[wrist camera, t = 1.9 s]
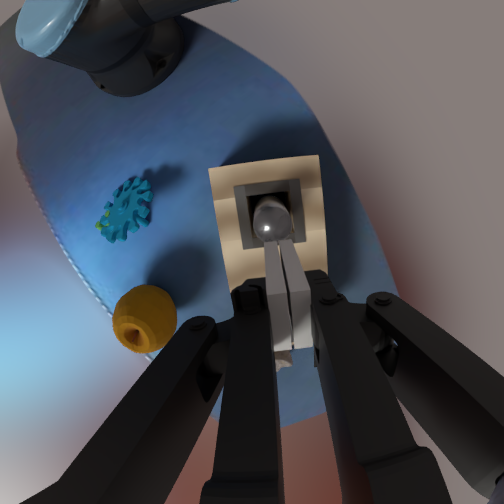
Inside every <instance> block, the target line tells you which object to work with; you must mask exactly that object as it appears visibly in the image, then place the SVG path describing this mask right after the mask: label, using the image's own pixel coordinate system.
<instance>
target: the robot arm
mask: <svg viewBox="0 0 504 504" xmlns="http://www.w3.org/2000/svg"><path fill="white" fill-rule="evenodd" d="M236 1H238V0H26V1H25V3H24V5H23V7H22V9H21V11H20V14H19V17H18V20H17V25H16V39H17V42H18V44H19V45H20V46H21V47H22V48H23V49H25V50H28V51H30V52H33V53H35V54H36V55H37V56H39V57H43V58H47V59H50V60H53V61H57V62H60V63H63V64H66V65H69V66H72V67H75V68H78V69H81V70H84V71H86V72H87V73H88V75H89V76H90V77H91V79H92V80H93V82H94V83H95V84H96V85H97V87H99V88H100V89H101V90H103V91H104V92H106V93H109V94H112V95H115V96H119V97H131V96H136V95H140V94H143V93H145V92H147V91H149V90H151V89H153V88H154V87H156V86H157V85H159V84H160V83H161V82H163V81H164V80H165V79H166V78H167V77H168V76H169V75H170V74H171V73H172V71H173V70H174V69H175V67H176V66H177V64H178V62H179V60H180V58H181V55H182V52H183V48H184V36H183V33H182V30H181V28H180V27H179V25H178V24H177V22H176V21H175V20H174V19H173V18H172V17H175V16H178V15H181V14H184V13H187V12H191V11H194V10H198V9H201V8H205V7H209V6H213V5H217V4H221V3H225V2H236ZM279 247H280V255H279V250H278V245H277V241H272V242H264V254H265V275H266V277H260V278H251V279H246V280H245V281H244V282H243V284H242V285H240V286H237V287H236V288H234V289H233V290H232V291H231V299H232V304H233V309H234V317H232V318H231V319H229V320H226V321H223V322H220V323H215V320H214V319H213V318H212V317H209V316H196V317H192V318H191V319H189V320H187V321H185V322H184V323H183V324H182V325H181V327H180V328H179V329H178V330H177V332H176V333H175V334H174V335H173V336H172V338H171V339H170V340H169V341H168V343H167V344H166V345H165V346H164V348H163V349H162V350H161V351H160V353H159V354H158V355H157V356H156V358H155V359H154V360H153V361H152V363H151V364H150V365H149V366H148V367H147V369H146V370H145V371H144V373H143V374H142V375H141V376H140V377H139V379H138V380H137V381H136V382H135V384H134V385H133V386H132V387H131V389H130V390H129V391H128V392H127V394H126V395H125V396H124V397H123V399H122V400H121V401H120V403H119V404H118V405H117V407H116V408H115V409H114V410H113V411H112V413H111V414H110V415H109V416H108V418H107V419H106V420H105V421H104V423H103V424H102V425H101V427H100V428H99V429H98V430H97V432H96V433H95V434H94V436H93V437H92V438H91V439H90V441H89V442H88V443H87V444H86V445H85V447H84V448H83V449H82V451H81V452H80V453H79V454H78V456H77V457H76V458H75V460H74V461H73V462H72V463H71V465H70V466H69V467H68V469H67V470H66V471H65V472H64V474H63V475H62V476H61V478H60V479H59V480H58V481H57V482H55V483H54V484H52V485H51V486H49V487H47V488H46V489H44V490H42V491H41V492H39V493H37V494H35V495H34V496H32V497H30V498H29V499H27V500H25V501H23V502H21V503H19V504H164V503H165V501H166V499H167V497H168V495H169V493H170V492H171V490H172V488H173V486H174V484H175V482H176V480H177V478H178V476H179V475H180V473H181V471H182V469H183V467H184V465H185V463H186V461H187V459H188V457H189V455H190V453H191V451H192V449H193V447H194V445H195V443H196V441H197V439H198V437H199V435H200V433H201V431H202V429H203V427H204V425H205V423H206V421H207V419H208V417H209V415H210V413H211V411H212V409H213V407H214V405H215V403H216V401H217V399H218V397H219V395H220V392H221V390H222V388H223V386H224V389H223V396H222V404H221V411H220V419H219V427H218V434H217V442H216V450H215V458H214V466H213V473H212V477H211V479H210V480H208V481H206V482H205V484H204V486H203V488H202V492H201V496H200V503H199V504H285V496H284V478H283V462H282V448H281V447H282V446H281V432H280V416H279V402H278V389H277V376H276V363H275V354H274V351H283V350H291V349H292V344H291V332H290V323H291V329H292V335H293V341H294V347H295V349H299V348H306V347H313V342H314V367H317V369H318V373H319V378H320V382H321V387H322V392H323V396H324V401H325V406H326V411H327V415H328V420H329V425H330V430H331V436H332V441H333V446H334V451H335V456H336V463H337V468H338V474H339V480H340V486H341V492H342V504H452V501H451V498H450V495H449V492H448V489H447V486H446V484H445V481H444V479H443V476H442V473H441V471H440V468H439V466H438V463H437V461H436V458H435V456H434V454H433V453H432V451H431V450H430V449H429V448H427V447H420V446H418V445H417V444H416V442H415V440H414V438H413V435H412V433H411V431H410V428H409V426H408V424H407V421H406V419H405V416H404V414H403V412H402V410H401V407H400V405H399V403H398V401H397V398H398V399H399V401H400V402H401V403H402V404H403V405H404V407H405V408H406V409H407V410H408V411H409V412H410V414H411V415H412V416H413V417H414V418H415V420H416V421H417V422H418V423H419V424H420V426H421V427H422V428H423V429H424V430H425V432H426V433H427V434H428V435H429V437H430V438H431V439H432V440H433V441H434V443H435V444H436V445H437V446H438V447H439V449H440V450H441V451H442V452H443V454H444V455H445V456H446V457H447V458H448V460H449V461H450V462H451V463H452V465H453V466H454V467H455V468H456V470H457V471H458V472H459V473H460V474H461V476H462V477H463V478H464V479H465V480H466V482H467V483H468V484H469V485H470V486H471V487H472V488H473V489H475V490H476V491H477V492H478V493H479V494H481V495H482V496H484V497H486V498H488V499H489V500H490V501H489V502H488V503H487V504H504V377H503V376H502V375H500V374H499V373H498V372H497V371H496V370H494V369H493V368H492V367H491V366H490V365H488V364H487V363H486V362H485V361H483V360H482V359H481V358H480V357H478V356H477V355H476V354H475V353H473V352H472V351H471V350H469V349H468V348H467V347H466V346H464V345H463V344H462V343H460V342H459V341H458V340H456V339H455V338H454V337H452V336H451V335H450V334H449V333H447V332H446V331H445V330H443V329H442V328H440V327H439V326H438V325H436V324H435V323H434V322H432V321H431V320H429V319H428V318H427V317H425V316H424V315H423V314H421V313H420V312H419V311H417V310H416V309H414V308H413V307H411V306H410V305H409V304H407V303H406V302H405V301H403V300H402V299H400V298H399V297H397V296H396V295H394V294H392V293H388V292H377V293H373V294H371V295H369V296H368V297H367V301H366V304H357V303H349V302H348V300H347V299H346V297H345V296H344V295H343V294H341V293H338V292H336V290H335V288H334V286H333V284H332V283H331V281H330V279H329V277H328V275H327V273H326V272H324V271H322V270H320V269H317V270H309V271H303V268H302V265H301V263H300V260H299V257H298V255H297V252H296V250H295V247H294V244H293V242H292V239H288V240H280V241H279ZM280 256H281V260H280ZM289 317H290V321H289ZM394 340H395V342H396V343H397V345H398V346H397V345H396V344H395V343H393V342H394ZM396 397H397V398H396Z"/></svg>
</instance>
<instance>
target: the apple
mask: <svg viewBox="0 0 504 504" xmlns="http://www.w3.org/2000/svg"><path fill="white" fill-rule="evenodd" d="M112 321H113V330H114V333H115V335H116V337H117V339H118V340H119V341H120V342H121V343H122V344H123V346H125V347H127V348H128V349H130V350H131V351H133V352H136V353H150V352H154V351H156V350H159V349H161V348H163V347H164V346H165V345H166V344H167V343H168V341H169V340H170V339H171V338H172V336H173V334H174V333H175V330H176V326H177V311H176V307H175V304H174V302H173V301H172V299H171V297H170V295H169V294H168V293H167V292H166V291H164V290H163V289H161V288H159V287H156V286H153V285H140V286H137V287H134V288H133V289H131V290H130V291H129V292H127V293H126V294H125V295H123V296H122V297H121V298H120V300H119V301H118V302H117V304H116V307H115V310H114V314H113V317H112Z"/></svg>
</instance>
